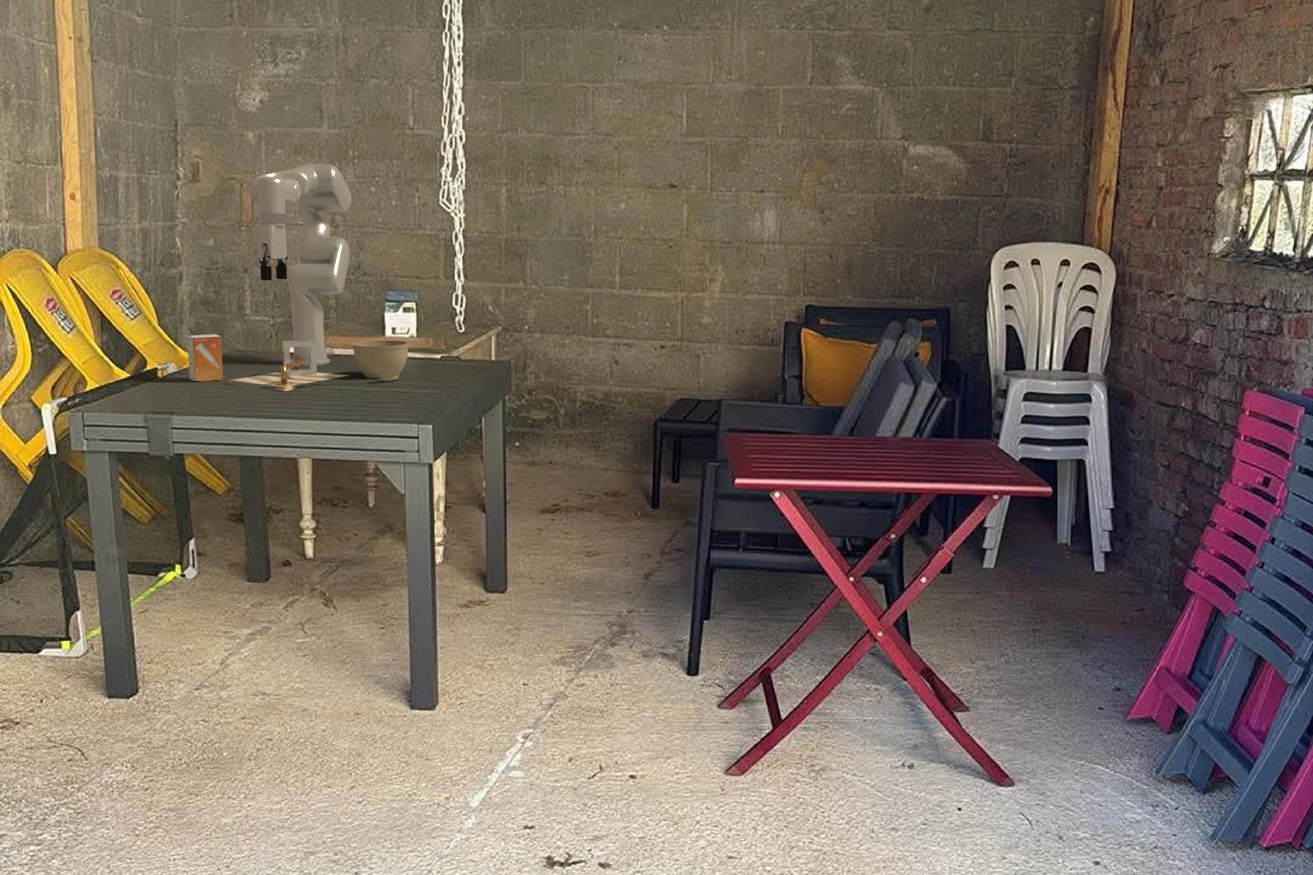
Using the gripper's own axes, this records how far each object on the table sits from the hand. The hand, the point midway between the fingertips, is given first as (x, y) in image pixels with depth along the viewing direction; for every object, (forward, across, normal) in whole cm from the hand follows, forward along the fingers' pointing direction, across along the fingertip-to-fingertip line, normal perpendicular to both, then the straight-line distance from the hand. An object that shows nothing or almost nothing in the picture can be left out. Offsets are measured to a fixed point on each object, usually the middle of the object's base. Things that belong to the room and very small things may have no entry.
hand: (274, 279), depth 375 cm
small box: (+29, +10, -17) cm, 36 cm away
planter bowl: (+29, -2, +32) cm, 43 cm away
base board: (+29, +8, +8) cm, 31 cm away
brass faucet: (+28, +9, +8) cm, 30 cm away
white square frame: (+28, +2, +8) cm, 29 cm away
